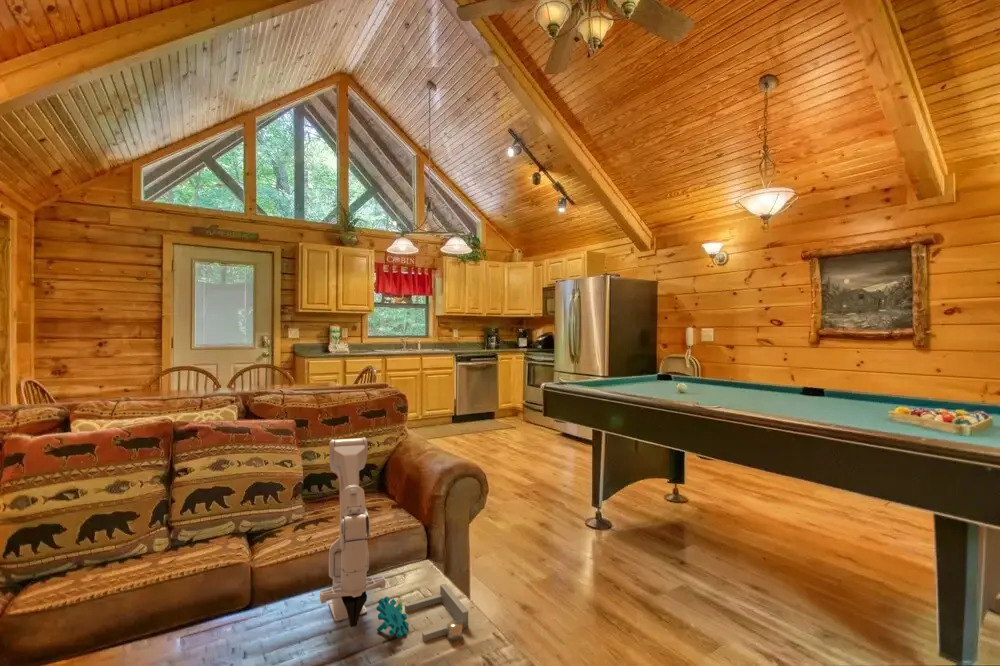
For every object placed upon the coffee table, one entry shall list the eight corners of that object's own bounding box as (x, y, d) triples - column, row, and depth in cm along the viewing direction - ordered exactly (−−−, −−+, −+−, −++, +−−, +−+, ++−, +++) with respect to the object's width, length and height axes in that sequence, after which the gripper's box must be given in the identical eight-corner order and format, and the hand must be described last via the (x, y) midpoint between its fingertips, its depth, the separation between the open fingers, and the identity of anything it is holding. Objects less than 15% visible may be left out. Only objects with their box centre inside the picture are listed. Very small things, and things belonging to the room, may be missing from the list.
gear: (401, 641, 109) (374, 605, 111) (382, 658, 109) (356, 622, 111) (417, 619, 120) (392, 587, 122) (400, 635, 120) (376, 602, 122)
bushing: (444, 635, 114) (444, 622, 114) (458, 630, 116) (458, 618, 116) (450, 643, 111) (450, 631, 111) (464, 639, 113) (464, 626, 113)
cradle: (404, 609, 124) (404, 594, 124) (445, 598, 130) (445, 583, 130) (424, 641, 112) (424, 624, 112) (468, 627, 117) (468, 611, 117)
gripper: (324, 582, 103) (323, 644, 104) (389, 566, 111) (388, 624, 111) (318, 567, 110) (317, 626, 110) (381, 554, 117) (380, 609, 117)
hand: (352, 624), depth 111 cm, fingers closed
